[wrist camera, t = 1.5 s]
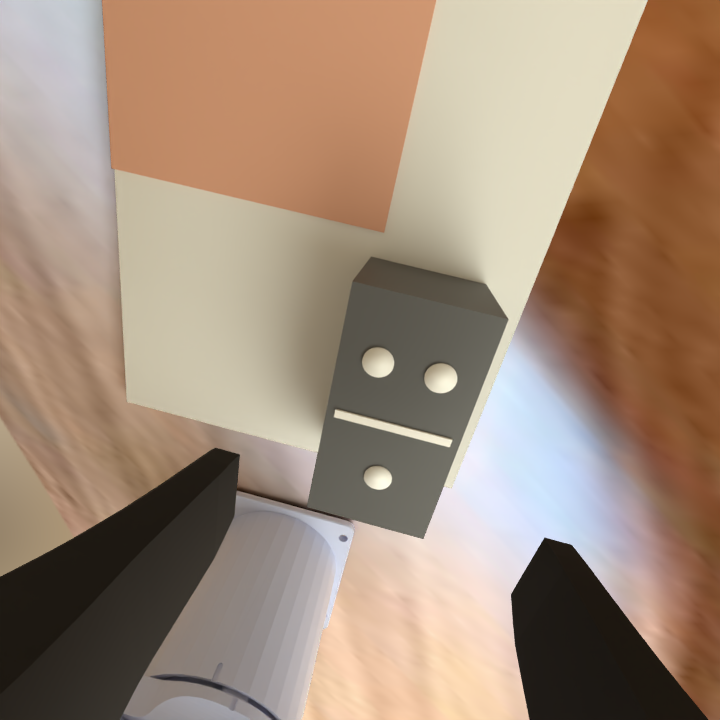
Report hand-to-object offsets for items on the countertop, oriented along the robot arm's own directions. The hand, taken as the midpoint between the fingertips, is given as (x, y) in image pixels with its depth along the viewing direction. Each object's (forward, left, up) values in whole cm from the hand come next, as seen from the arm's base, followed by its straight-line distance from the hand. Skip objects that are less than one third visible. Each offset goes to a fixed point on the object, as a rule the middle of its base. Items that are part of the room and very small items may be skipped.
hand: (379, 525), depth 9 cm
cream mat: (+5, +5, -9) cm, 12 cm away
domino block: (0, 0, -9) cm, 9 cm away
